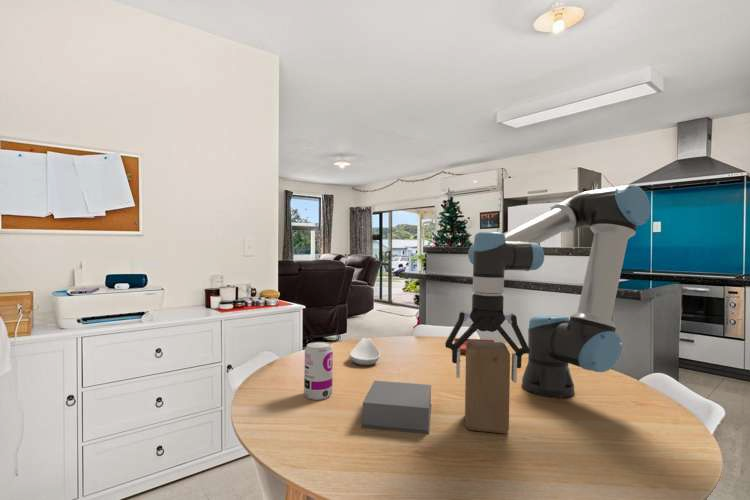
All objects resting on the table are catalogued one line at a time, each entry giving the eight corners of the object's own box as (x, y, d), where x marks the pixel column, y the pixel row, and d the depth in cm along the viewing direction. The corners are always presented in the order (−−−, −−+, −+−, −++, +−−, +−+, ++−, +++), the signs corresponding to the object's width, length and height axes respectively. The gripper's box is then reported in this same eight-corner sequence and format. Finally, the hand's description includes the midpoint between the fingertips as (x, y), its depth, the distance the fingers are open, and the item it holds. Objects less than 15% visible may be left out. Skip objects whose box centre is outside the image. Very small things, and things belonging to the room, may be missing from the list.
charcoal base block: (431, 406, 108) (431, 384, 108) (429, 433, 91) (429, 408, 91) (373, 401, 110) (373, 380, 110) (361, 427, 94) (361, 402, 94)
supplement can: (337, 393, 116) (337, 343, 116) (322, 402, 109) (323, 349, 109) (314, 388, 120) (315, 340, 120) (298, 397, 112) (299, 346, 112)
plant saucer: (455, 355, 161) (455, 347, 161) (453, 344, 179) (453, 337, 179) (500, 358, 158) (500, 350, 158) (493, 347, 176) (494, 339, 176)
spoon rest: (380, 368, 141) (381, 349, 141) (348, 368, 141) (349, 348, 141) (379, 351, 165) (379, 334, 165) (351, 351, 165) (351, 334, 165)
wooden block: (509, 435, 91) (510, 351, 91) (465, 431, 93) (467, 348, 93) (504, 417, 101) (505, 341, 101) (464, 413, 103) (466, 339, 103)
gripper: (536, 294, 98) (534, 377, 98) (437, 290, 103) (435, 369, 103) (544, 298, 91) (541, 388, 91) (437, 293, 95) (434, 378, 95)
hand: (485, 378), depth 97 cm, fingers open, 13 cm apart
